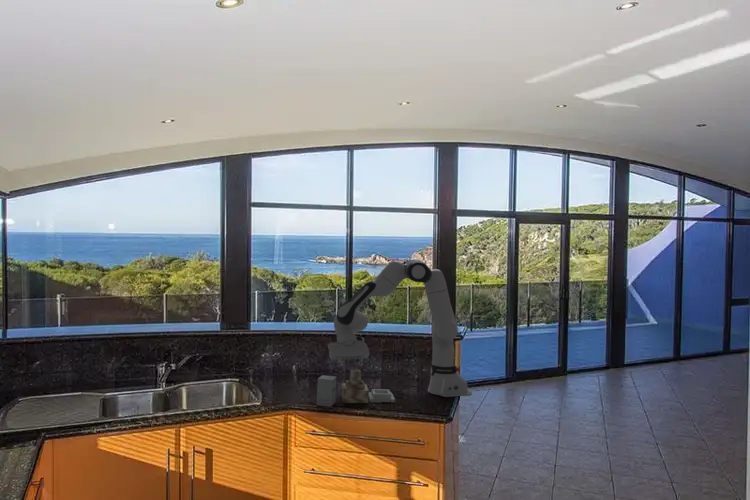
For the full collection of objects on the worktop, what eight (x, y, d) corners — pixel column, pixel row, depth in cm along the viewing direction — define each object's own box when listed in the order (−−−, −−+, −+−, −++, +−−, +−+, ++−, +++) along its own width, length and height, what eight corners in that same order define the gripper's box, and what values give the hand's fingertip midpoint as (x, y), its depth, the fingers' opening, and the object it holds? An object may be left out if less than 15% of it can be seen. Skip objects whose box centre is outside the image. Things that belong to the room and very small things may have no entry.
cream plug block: (357, 385, 293) (358, 369, 293) (360, 387, 289) (361, 371, 289) (349, 386, 292) (350, 369, 291) (352, 388, 288) (353, 371, 288)
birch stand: (365, 395, 297) (366, 379, 297) (368, 403, 285) (368, 386, 285) (341, 395, 296) (342, 379, 296) (342, 402, 284) (343, 386, 284)
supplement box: (331, 407, 277) (332, 380, 276) (316, 405, 278) (317, 378, 278) (335, 402, 284) (336, 376, 283) (320, 401, 285) (321, 374, 285)
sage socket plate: (391, 395, 300) (391, 388, 300) (395, 402, 288) (395, 395, 288) (367, 395, 298) (367, 388, 298) (370, 402, 287) (370, 395, 286)
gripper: (328, 339, 298) (333, 363, 289) (366, 337, 305) (373, 361, 297) (325, 346, 302) (330, 370, 293) (363, 344, 310) (369, 368, 301)
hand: (352, 365), depth 295 cm, fingers open, 8 cm apart
